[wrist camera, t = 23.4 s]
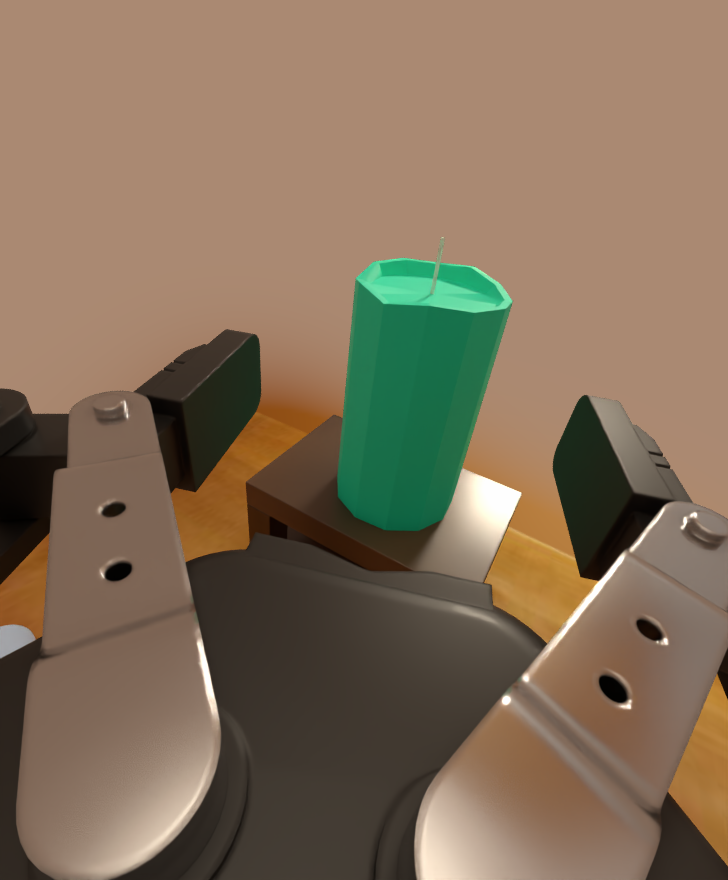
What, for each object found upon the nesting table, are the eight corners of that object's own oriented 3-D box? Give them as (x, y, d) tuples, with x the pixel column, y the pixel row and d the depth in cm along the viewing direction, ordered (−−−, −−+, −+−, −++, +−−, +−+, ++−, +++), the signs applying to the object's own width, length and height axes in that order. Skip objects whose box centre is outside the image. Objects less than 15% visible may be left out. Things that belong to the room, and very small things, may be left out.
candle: (385, 439, 26) (422, 215, 19) (473, 490, 23) (555, 248, 16) (310, 485, 22) (323, 225, 15) (405, 553, 19) (475, 271, 12)
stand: (482, 585, 28) (522, 493, 24) (434, 696, 22) (474, 603, 18) (326, 505, 32) (334, 414, 28) (251, 581, 27) (245, 481, 22)
